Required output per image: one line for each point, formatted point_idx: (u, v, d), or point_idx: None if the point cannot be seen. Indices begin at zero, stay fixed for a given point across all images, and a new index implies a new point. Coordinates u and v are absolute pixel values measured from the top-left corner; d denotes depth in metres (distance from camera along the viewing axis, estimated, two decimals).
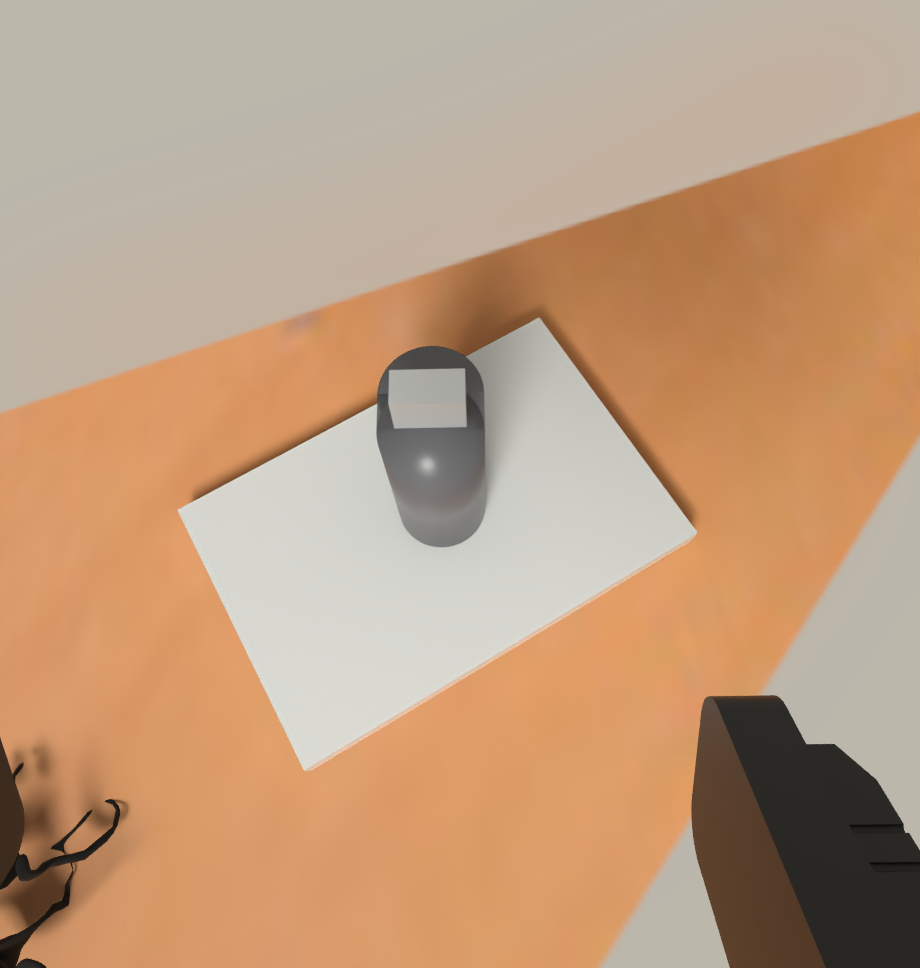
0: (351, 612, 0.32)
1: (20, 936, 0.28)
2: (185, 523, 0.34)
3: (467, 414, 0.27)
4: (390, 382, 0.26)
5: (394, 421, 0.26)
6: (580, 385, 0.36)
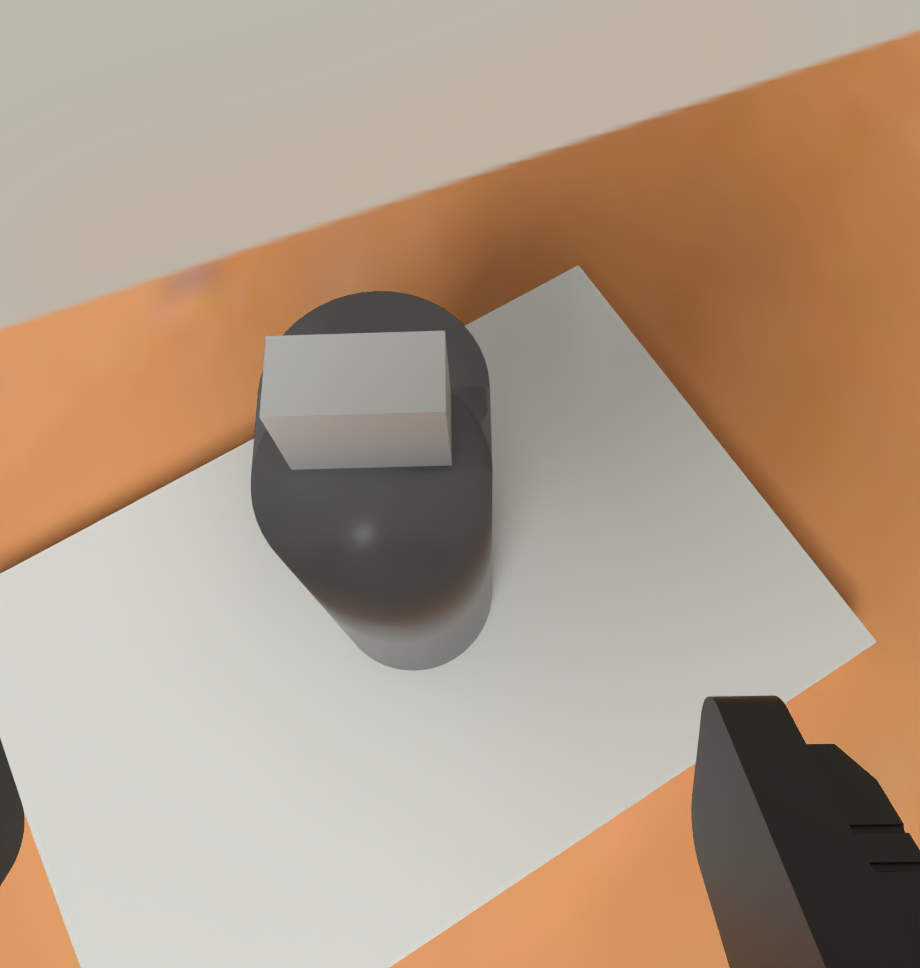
0: (246, 798, 0.18)
1: None
2: None
3: (453, 437, 0.12)
4: (267, 365, 0.11)
5: (286, 455, 0.12)
6: (652, 377, 0.21)
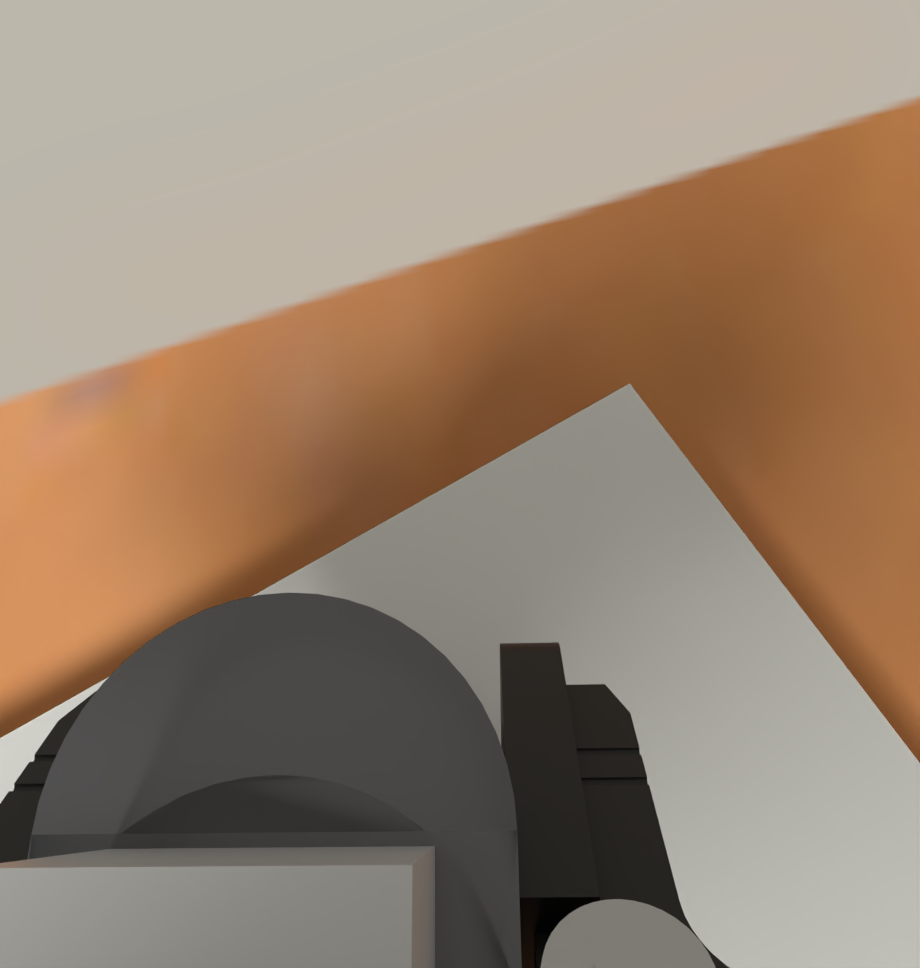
0: None
1: None
2: None
3: None
4: None
5: None
6: (741, 559, 0.14)
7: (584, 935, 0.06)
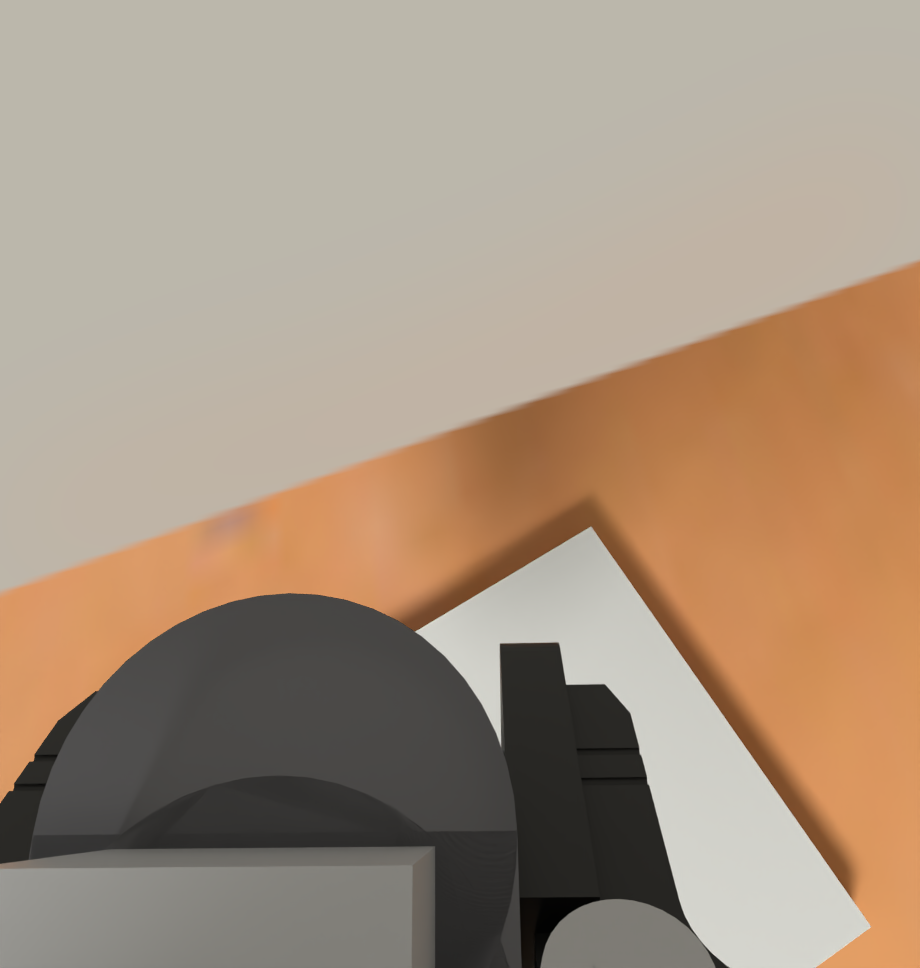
0: None
1: None
2: None
3: None
4: None
5: None
6: (660, 646, 0.22)
7: (583, 935, 0.06)
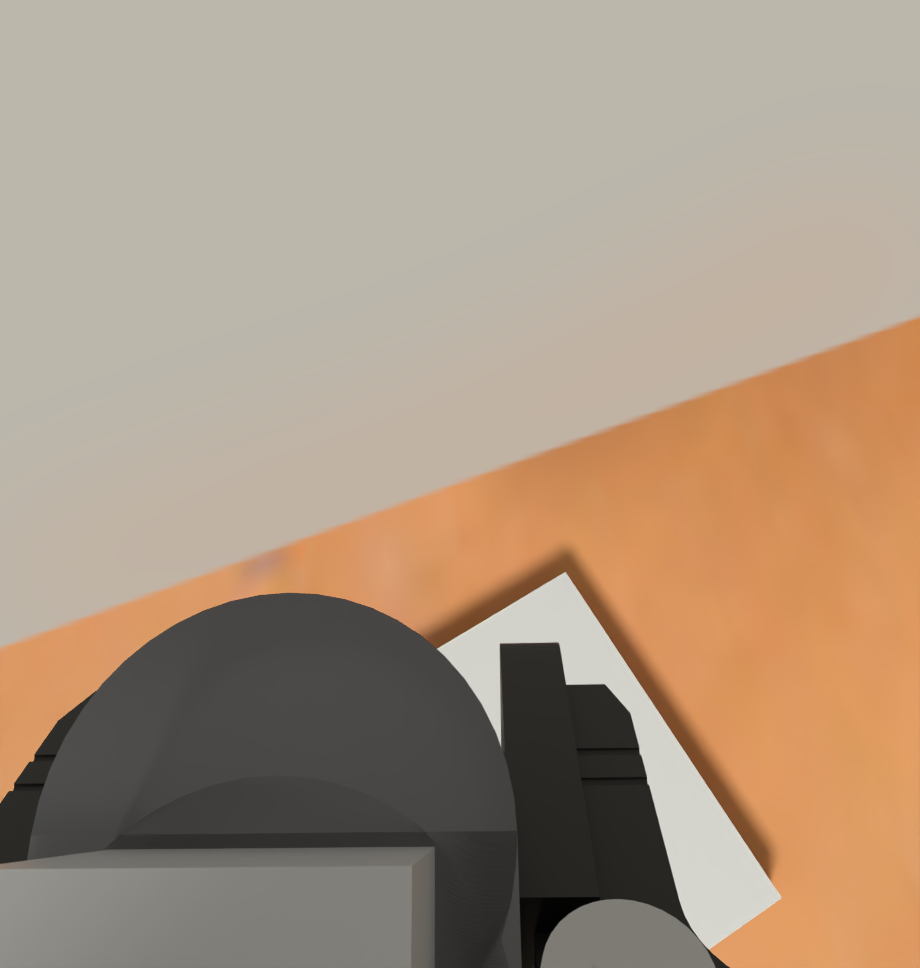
0: None
1: None
2: None
3: None
4: None
5: None
6: (620, 672, 0.27)
7: (584, 935, 0.06)
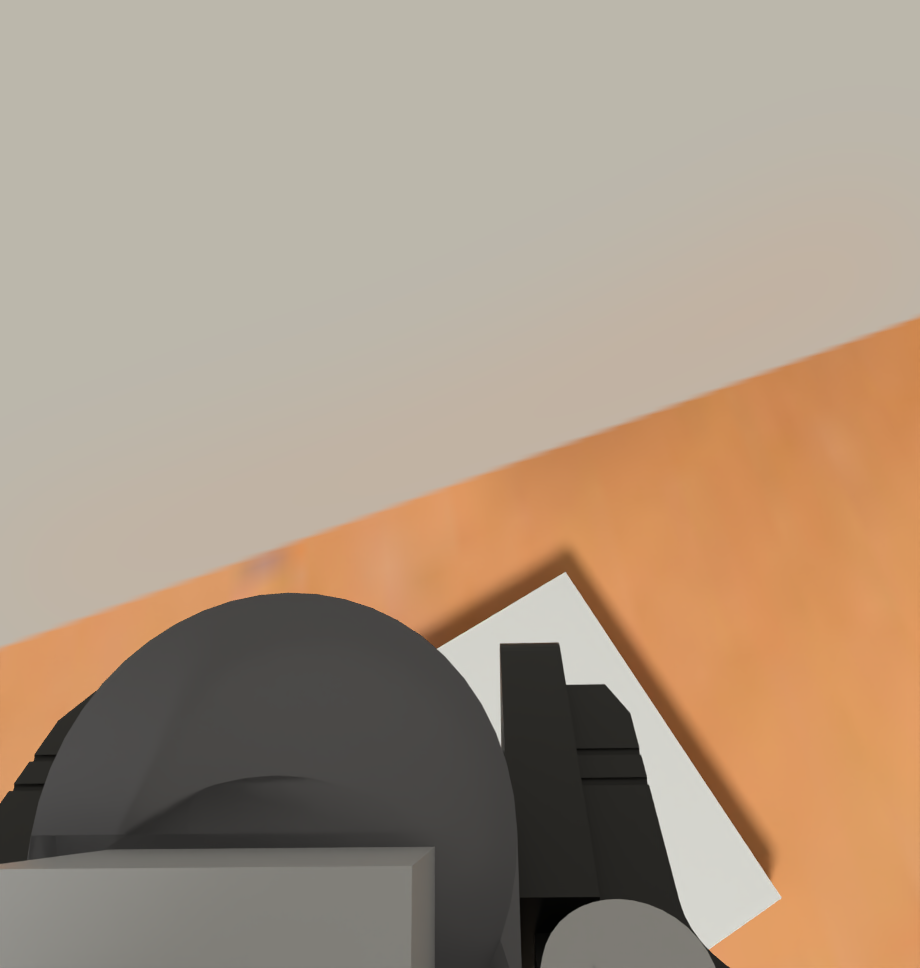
0: None
1: None
2: None
3: None
4: None
5: None
6: (620, 672, 0.27)
7: (584, 935, 0.06)
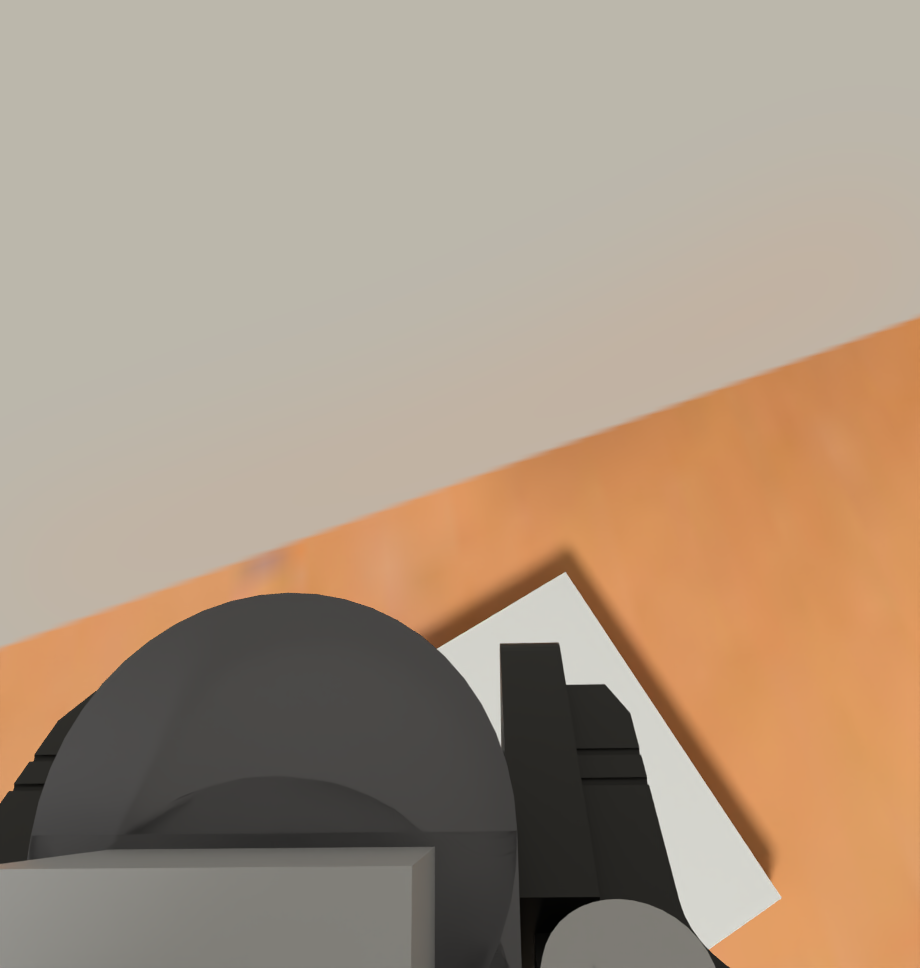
0: None
1: None
2: None
3: None
4: None
5: None
6: (620, 672, 0.27)
7: (584, 935, 0.06)
